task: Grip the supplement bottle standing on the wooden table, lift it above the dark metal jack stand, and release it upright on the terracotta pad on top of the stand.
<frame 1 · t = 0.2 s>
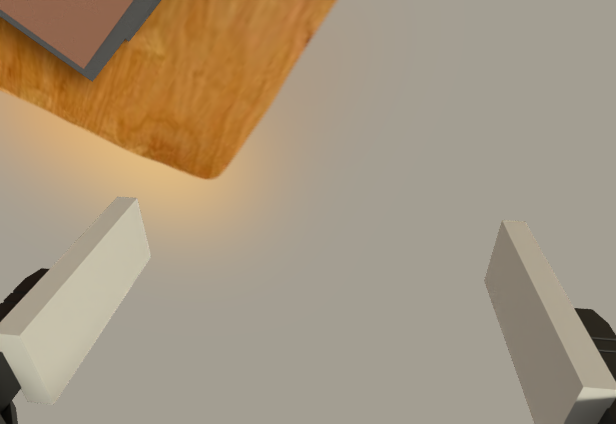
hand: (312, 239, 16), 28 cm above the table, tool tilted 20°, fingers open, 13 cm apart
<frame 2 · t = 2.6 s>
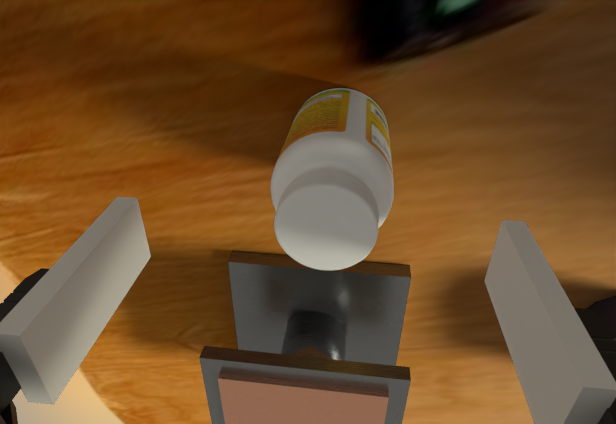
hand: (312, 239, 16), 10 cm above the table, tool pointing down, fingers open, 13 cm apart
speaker: (609, 325, 30), on the table
supplement bottle: (340, 132, 25), on the table
jack stand: (317, 321, 33), on the table
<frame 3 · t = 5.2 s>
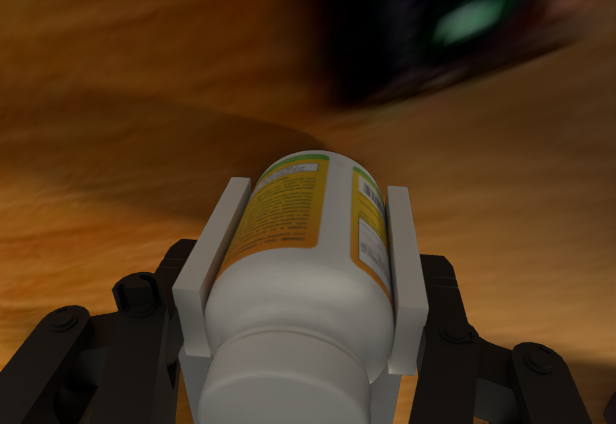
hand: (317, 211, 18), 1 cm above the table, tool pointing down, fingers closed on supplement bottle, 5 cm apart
supplement bottle: (318, 204, 18), point 1 cm above the table, touching gripper
jack stand: (292, 403, 27), on the table
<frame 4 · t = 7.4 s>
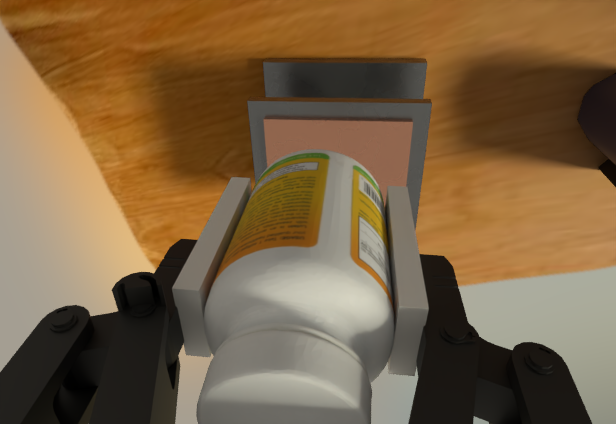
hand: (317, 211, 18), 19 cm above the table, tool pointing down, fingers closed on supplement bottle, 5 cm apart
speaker: (607, 113, 33), on the table
supplement bottle: (318, 203, 18), point 19 cm above the table, touching gripper
jack stand: (342, 133, 36), on the table
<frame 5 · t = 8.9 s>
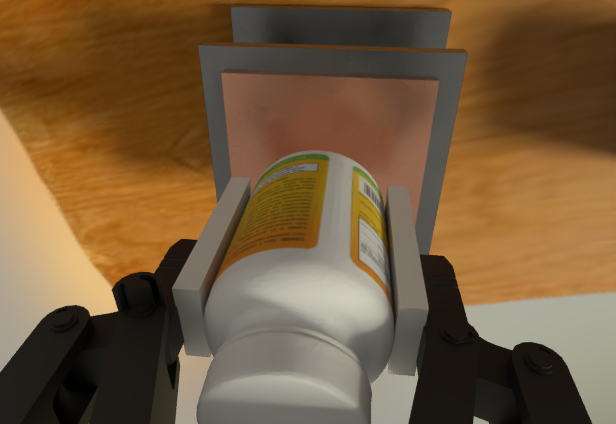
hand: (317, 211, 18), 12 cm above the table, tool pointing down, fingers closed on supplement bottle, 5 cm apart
supplement bottle: (318, 204, 18), point 12 cm above the table, touching gripper
jack stand: (335, 109, 28), on the table
when the fingers open (11 cm above the table, at t = 9.9 s): supplement bottle drops 1 cm, resting on jack stand.
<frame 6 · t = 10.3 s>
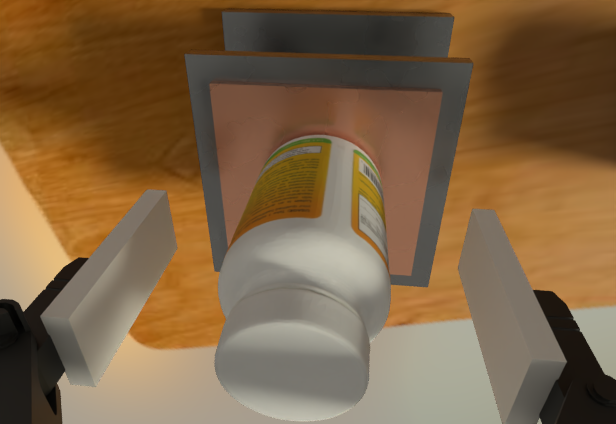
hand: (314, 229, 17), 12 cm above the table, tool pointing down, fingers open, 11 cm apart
supplement bottle: (320, 186, 19), point 9 cm above the table, touching jack stand
jack stand: (332, 117, 27), on the table
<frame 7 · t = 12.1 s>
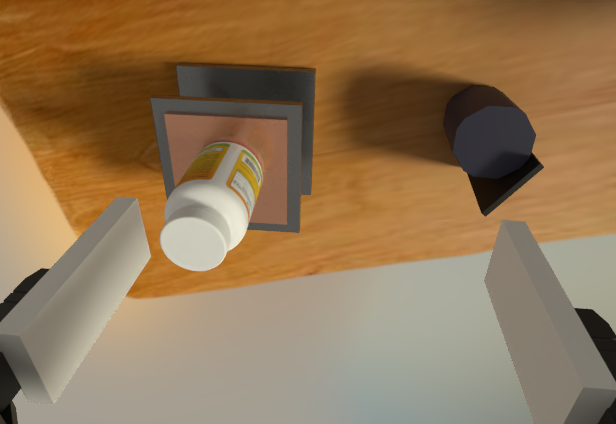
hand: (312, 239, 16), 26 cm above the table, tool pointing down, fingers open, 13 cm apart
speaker: (467, 119, 40), on the table
supplement bottle: (229, 171, 34), point 9 cm above the table, touching jack stand
jack stand: (250, 130, 42), on the table
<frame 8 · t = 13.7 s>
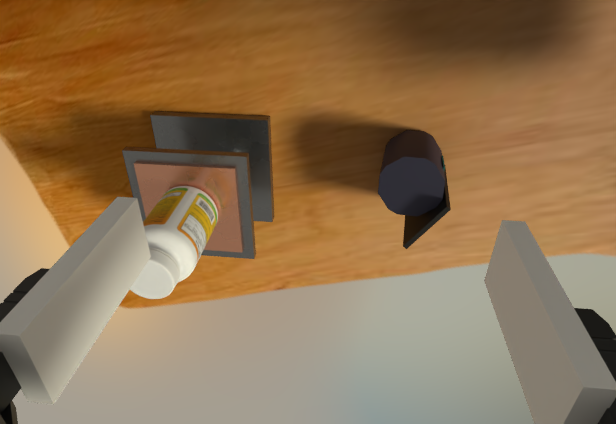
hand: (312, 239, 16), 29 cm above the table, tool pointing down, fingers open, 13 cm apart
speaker: (405, 158, 45), on the table
supplement bottle: (191, 208, 40), point 9 cm above the table, touching jack stand
jack stand: (217, 166, 48), on the table
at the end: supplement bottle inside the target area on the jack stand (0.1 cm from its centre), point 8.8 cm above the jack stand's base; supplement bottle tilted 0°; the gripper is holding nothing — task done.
